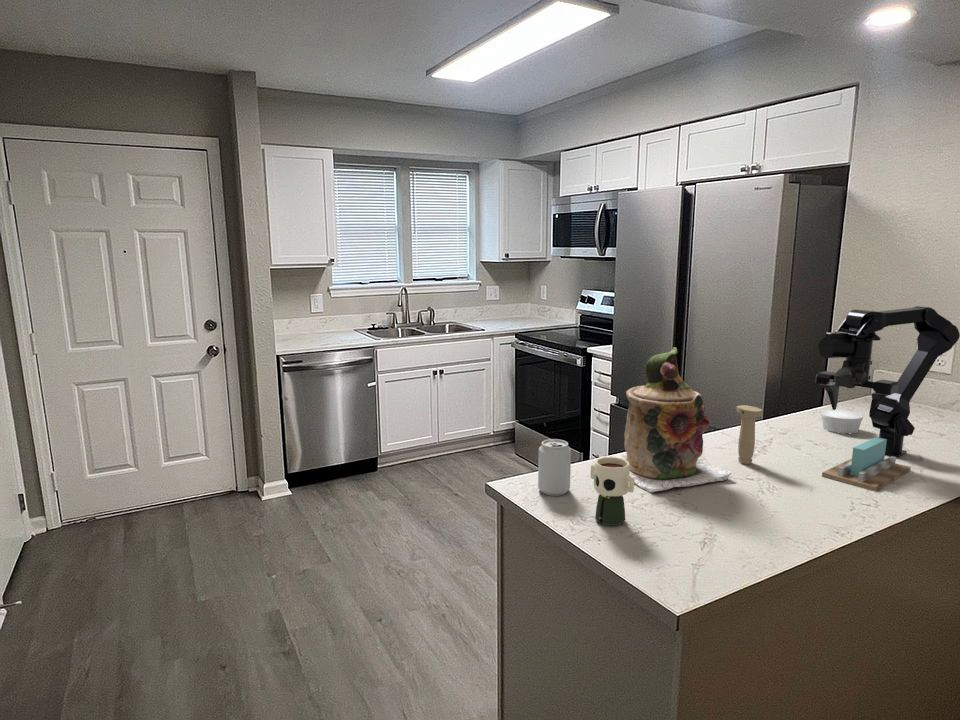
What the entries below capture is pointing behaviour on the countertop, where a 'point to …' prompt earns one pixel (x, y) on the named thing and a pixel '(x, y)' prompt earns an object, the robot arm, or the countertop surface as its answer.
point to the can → (554, 467)
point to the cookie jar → (666, 430)
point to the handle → (747, 432)
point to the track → (868, 474)
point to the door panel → (867, 455)
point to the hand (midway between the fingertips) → (852, 413)
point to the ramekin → (841, 421)
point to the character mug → (611, 488)
